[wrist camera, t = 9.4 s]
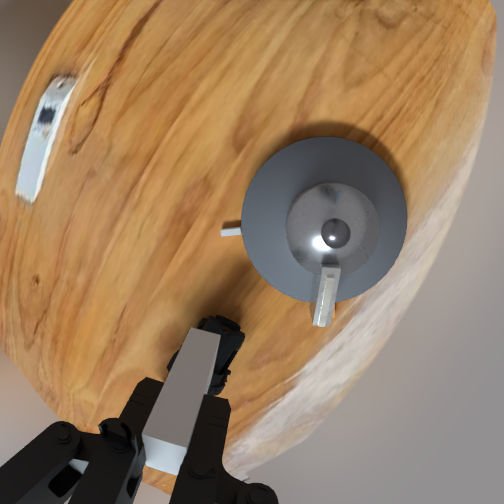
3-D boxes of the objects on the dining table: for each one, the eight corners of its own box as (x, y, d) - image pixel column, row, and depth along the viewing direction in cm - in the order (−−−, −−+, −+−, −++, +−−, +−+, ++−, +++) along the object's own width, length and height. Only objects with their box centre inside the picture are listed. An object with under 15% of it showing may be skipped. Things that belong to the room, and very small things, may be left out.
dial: (289, 176, 30) (291, 179, 26) (376, 187, 29) (390, 191, 25) (277, 305, 35) (277, 323, 31) (354, 309, 34) (362, 327, 30)
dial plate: (246, 115, 30) (244, 113, 28) (417, 167, 30) (425, 168, 28) (210, 289, 37) (206, 296, 36) (364, 322, 37) (367, 330, 36)
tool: (247, 315, 47) (262, 343, 32) (187, 416, 45) (180, 467, 30) (204, 291, 46) (200, 310, 31) (147, 396, 44) (127, 443, 29)
